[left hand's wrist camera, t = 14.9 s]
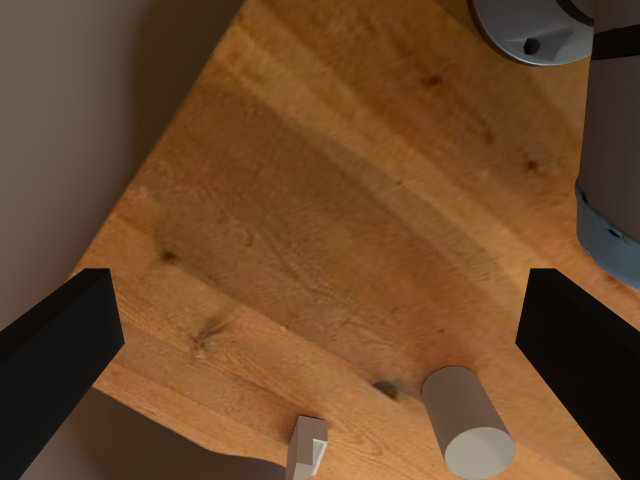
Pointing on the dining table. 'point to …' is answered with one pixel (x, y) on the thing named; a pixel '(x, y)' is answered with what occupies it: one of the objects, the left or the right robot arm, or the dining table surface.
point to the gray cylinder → (466, 424)
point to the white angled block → (306, 448)
